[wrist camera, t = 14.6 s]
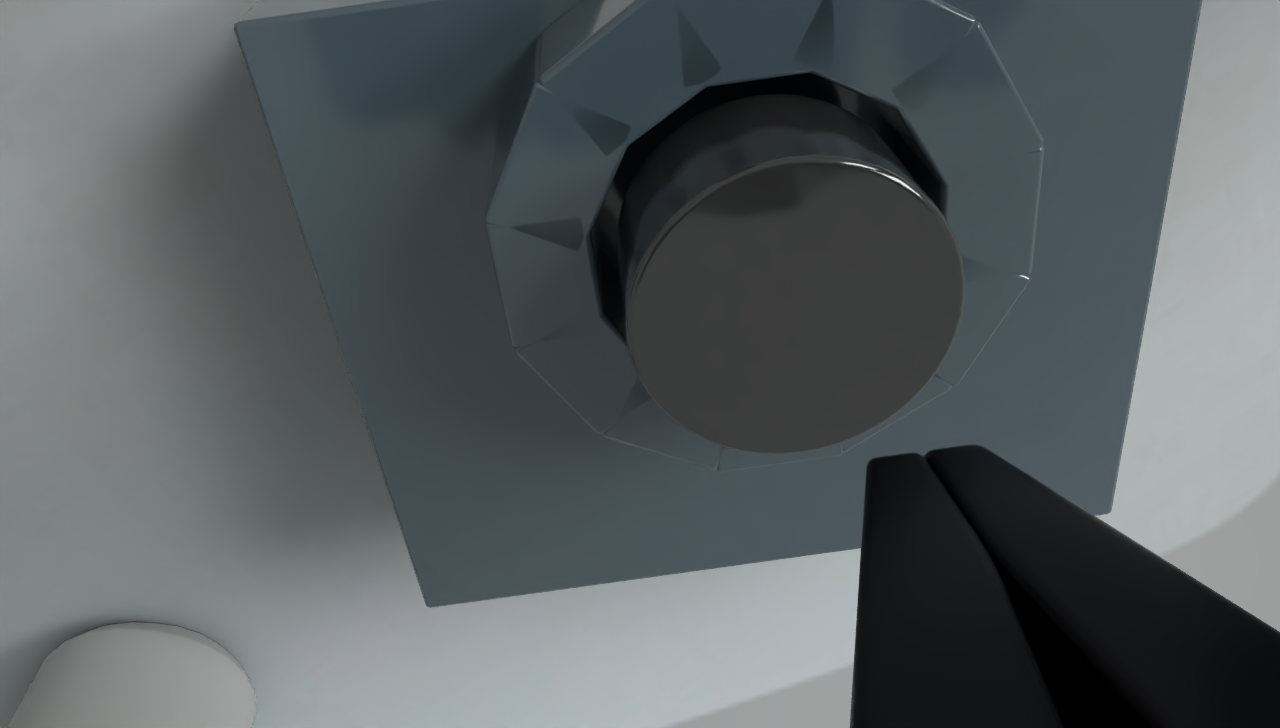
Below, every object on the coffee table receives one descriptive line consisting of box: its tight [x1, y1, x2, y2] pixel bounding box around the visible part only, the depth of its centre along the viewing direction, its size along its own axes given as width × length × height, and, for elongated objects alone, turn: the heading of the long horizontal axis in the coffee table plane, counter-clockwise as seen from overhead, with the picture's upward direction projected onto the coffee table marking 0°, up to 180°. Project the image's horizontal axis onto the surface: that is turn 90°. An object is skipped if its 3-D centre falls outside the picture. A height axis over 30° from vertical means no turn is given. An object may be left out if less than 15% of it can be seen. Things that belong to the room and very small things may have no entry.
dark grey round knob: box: [616, 94, 965, 455], centre depth 11 cm, size 4×4×2 cm
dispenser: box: [234, 0, 1202, 608], centre depth 15 cm, size 12×10×6 cm
